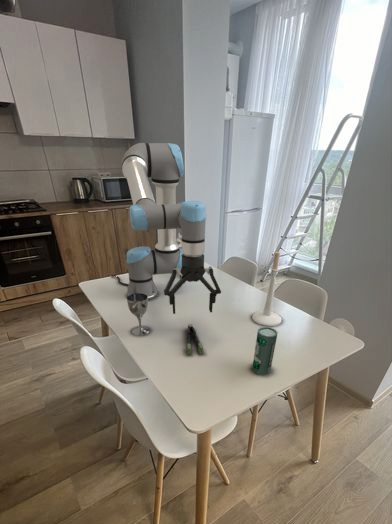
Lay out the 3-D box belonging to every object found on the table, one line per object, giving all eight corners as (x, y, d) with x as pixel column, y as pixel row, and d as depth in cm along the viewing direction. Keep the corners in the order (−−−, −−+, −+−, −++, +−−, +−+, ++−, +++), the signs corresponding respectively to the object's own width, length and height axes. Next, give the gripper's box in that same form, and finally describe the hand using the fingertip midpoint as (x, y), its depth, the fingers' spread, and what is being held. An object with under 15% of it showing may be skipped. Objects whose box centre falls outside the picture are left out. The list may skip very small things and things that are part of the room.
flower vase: (184, 283, 167) (184, 237, 153) (171, 273, 180) (169, 230, 167) (204, 280, 172) (206, 235, 158) (190, 270, 186) (190, 228, 172)
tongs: (183, 329, 124) (183, 323, 123) (196, 328, 125) (196, 322, 123) (187, 355, 109) (187, 348, 107) (203, 354, 109) (203, 347, 108)
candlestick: (246, 319, 133) (254, 251, 116) (262, 310, 141) (272, 245, 124) (271, 329, 126) (284, 258, 109) (286, 318, 134) (300, 251, 117)
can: (253, 362, 106) (259, 325, 97) (271, 365, 104) (278, 328, 96) (251, 372, 101) (256, 334, 92) (269, 376, 99) (276, 338, 91)
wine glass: (134, 337, 118) (130, 303, 110) (128, 328, 124) (124, 295, 116) (153, 333, 122) (150, 299, 113) (146, 324, 127) (143, 291, 119)
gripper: (227, 249, 102) (223, 305, 114) (154, 251, 100) (158, 308, 112) (232, 256, 96) (227, 314, 108) (154, 258, 94) (158, 317, 106)
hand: (192, 311), depth 110 cm, fingers open, 13 cm apart
